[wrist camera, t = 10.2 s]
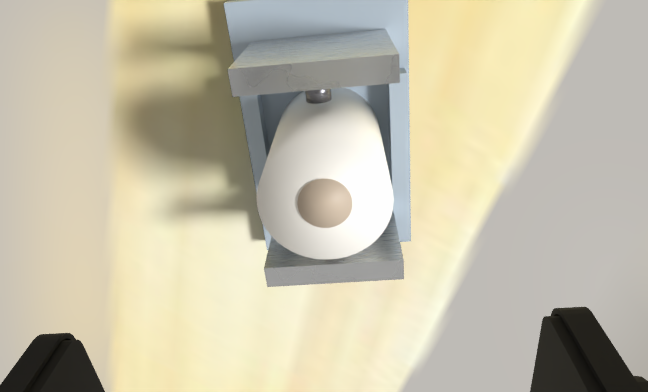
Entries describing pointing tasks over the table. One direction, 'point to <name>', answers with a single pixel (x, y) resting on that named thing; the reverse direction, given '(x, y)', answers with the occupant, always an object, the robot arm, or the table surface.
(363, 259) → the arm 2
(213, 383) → the table surface
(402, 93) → the holder
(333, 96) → the roll
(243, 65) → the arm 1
